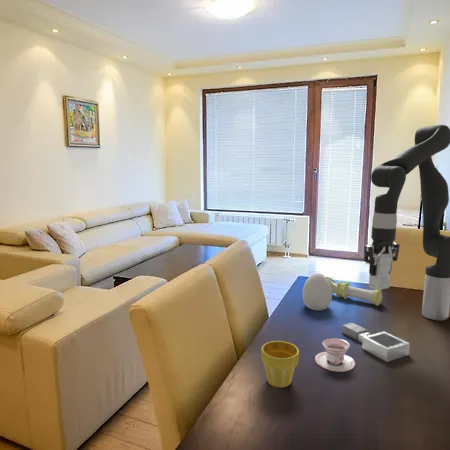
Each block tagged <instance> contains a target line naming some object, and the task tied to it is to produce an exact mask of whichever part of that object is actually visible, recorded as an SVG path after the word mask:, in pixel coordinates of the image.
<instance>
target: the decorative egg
mask: <svg viewBox="0 0 450 450" xmlns="http://www.w3.org/2000/svg"><path fill="white" fill-rule="evenodd" d="M326 277H327V276H326V275H324V274H322V273H321V272H314V273H313V274H310V276H309V277H308V278H307V279H306V281H305V282H304V284H303V288H302V301H303V303H304V305H305V307H307V309H310V310H311V311H326V310H327V309H328V307H330V305H331V303H332V300H333V299H332V298H333V293H332V289H331V285H330V283H329V281H328V280H329V279H327V278H326Z"/></svg>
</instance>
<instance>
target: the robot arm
mask: <svg viewBox="0 0 450 450" xmlns="http://www.w3.org/2000/svg"><path fill="white" fill-rule="evenodd" d="M449 146H450V127H449V126H447V125H445V124H436V125H427V126H421V127H419V128H417V129H416V131H415V134H414V145H413V146H410V147H409V148H406V149H404V150H402V152H400V153H399V154H397V155H396V156H395V157H394V158H392V159H389V160H387V161H384V162H382V163H380V164H378V165H377V166H376V167H375V168H374V169H373V170H372V172H371V175H370V179H371V183H372V185H373V186H376V187H378V188H388V190H387V192H386V193H383V194H378V195H376V197H375V199H374V206H373V207H374V209H373V210H374V212H373V216H372V222H371V223H372V225H371V234H370V235H371V236H370V238H371V240H372V244H369V245H367V244H365V245H364V262H365V263H367V264H369V268H368V272H369V276H370V275H372V276H376V270H377V265H376V264H377V262H378V260H379V259H380V255H382V254H389V255H390V258H391V257H392V261H391V270H392V267H393V263H394V262H396V261H398V257H399V252H400V246H401V245H400V244H399V243H396V242H395V240H396V233H397V223H398V222H397V221H398V216H397V214H398V202H399V199H400V196H401V193H402V190H403V189H404V185H405V183H406V180H407V175H408V174H409V173H411V172H412V171H413V170H415V169H416V167H418V169H419V170H418V171H419V180H420V181H419V182H420V195H421V196H420V197H421V206H422V224H423V225H422V248H423V252H424V253H425V254H426V256H427V255H428V256H430V257H433V258H436V261H435V264H430V265H427V266H426V267H425V275H424V284H423V295H422V307H421V316H423V317H425V318H426V319H429V320H433V321H446V320H448V318H449V317H450V236H449V235H444V234H441V229H440V228H441V227H440V225H441V224H440V223H441V219H442V216H443V214H444V213H445V211H446V210H447V208H448V204H449V203H450V199H449V198H450V195H449V185H448V183H447V180H446V179H445V177H444V176H443V175H442V173H441V172H440V171H439V169H437V167H436V166H435V163H434V162H433V159H432V156H435V155H436V154H438V153H440V152H442V151H443V150H445V149H447V148H448V147H449ZM373 253H375V254H378V255H377V256H375V255H373ZM374 258H375V260H374V261H373V259H374Z"/></svg>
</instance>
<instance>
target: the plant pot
mask: <svg viewBox="0 0 450 450" xmlns="http://www.w3.org/2000/svg"><path fill="white" fill-rule="evenodd" d="M260 355H261V356H260V359H261V361H262V364H264V365H263V366H264V369H265V370H264V371H265V375H266V380H267V383H268V384H269V385H270V386H272V387H274V388H278V387H279V388H280V389H281V388H287V387H289V386H290V385H291V383H292V381H293V377H294V373H295V370H296V369H295V368H296V367H297V366H298V364H299V361H300V350H299V347H298V346H296V344H293V343H291V342H288V341H286V340H285V341H283V340H272V341H268V342H266V343H264V344H263V345H262V346H261V351H260Z"/></svg>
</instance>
